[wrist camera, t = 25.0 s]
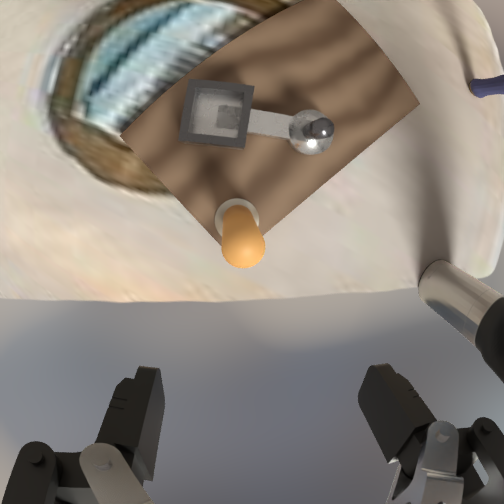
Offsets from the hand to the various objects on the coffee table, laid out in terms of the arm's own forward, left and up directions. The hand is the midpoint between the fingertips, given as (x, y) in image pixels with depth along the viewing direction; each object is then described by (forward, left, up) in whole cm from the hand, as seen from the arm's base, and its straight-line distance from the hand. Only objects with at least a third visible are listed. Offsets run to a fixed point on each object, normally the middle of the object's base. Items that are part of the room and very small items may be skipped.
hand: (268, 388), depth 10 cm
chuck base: (+8, -16, -32) cm, 37 cm away
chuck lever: (+8, -11, -30) cm, 33 cm away
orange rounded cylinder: (0, 0, -30) cm, 30 cm away
